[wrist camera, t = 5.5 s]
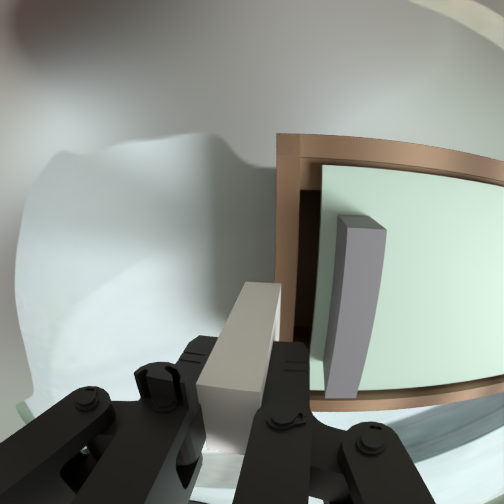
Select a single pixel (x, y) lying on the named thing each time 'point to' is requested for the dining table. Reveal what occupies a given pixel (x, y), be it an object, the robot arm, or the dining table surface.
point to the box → (307, 240)
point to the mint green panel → (406, 281)
